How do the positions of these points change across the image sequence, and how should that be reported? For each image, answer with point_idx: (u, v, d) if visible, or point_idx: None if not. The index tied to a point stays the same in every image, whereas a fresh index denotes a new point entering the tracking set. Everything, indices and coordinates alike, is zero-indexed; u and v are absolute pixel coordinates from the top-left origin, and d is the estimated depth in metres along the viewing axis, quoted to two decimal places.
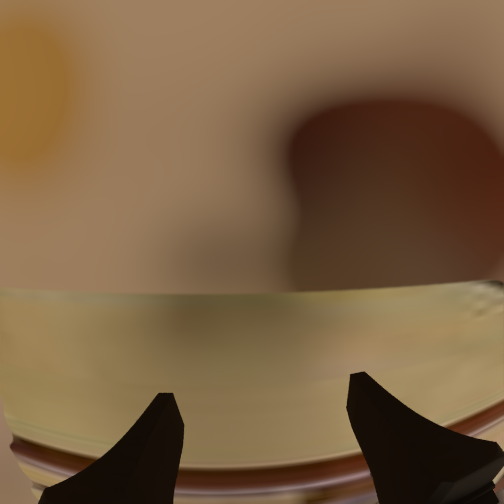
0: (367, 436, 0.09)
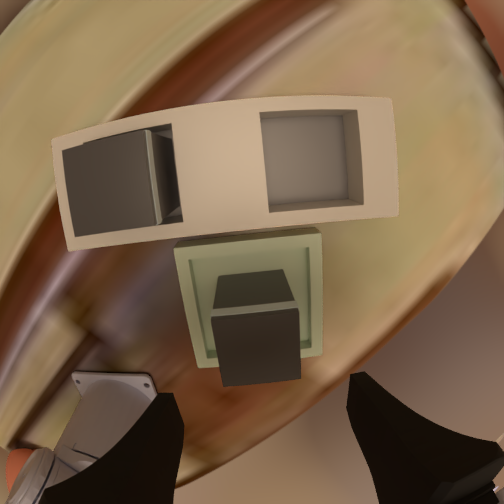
0: (367, 436, 0.09)
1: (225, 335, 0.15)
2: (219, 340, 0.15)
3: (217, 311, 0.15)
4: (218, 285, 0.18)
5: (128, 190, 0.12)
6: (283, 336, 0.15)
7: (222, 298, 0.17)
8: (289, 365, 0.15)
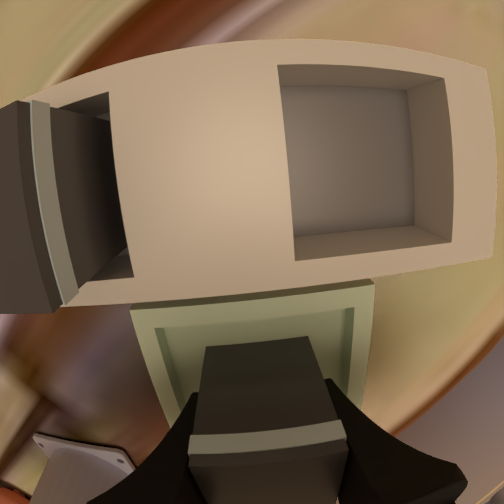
0: None
1: (216, 481, 0.07)
2: (206, 485, 0.07)
3: (200, 440, 0.07)
4: (204, 371, 0.11)
5: None
6: (316, 478, 0.07)
7: (211, 406, 0.09)
8: (319, 501, 0.07)
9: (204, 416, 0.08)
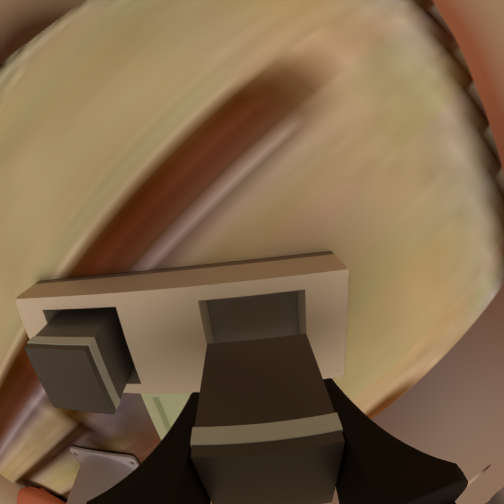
0: None
1: (217, 471, 0.07)
2: (207, 476, 0.07)
3: (202, 432, 0.08)
4: (206, 366, 0.11)
5: (86, 389, 0.13)
6: (313, 469, 0.07)
7: (212, 399, 0.09)
8: (317, 493, 0.08)
9: (206, 409, 0.09)
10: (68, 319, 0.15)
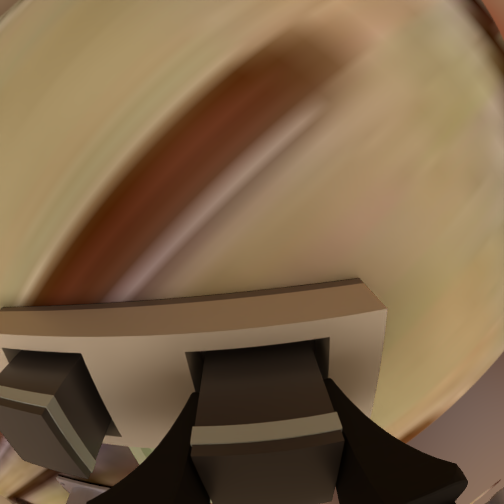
0: None
1: (217, 471, 0.07)
2: (207, 475, 0.07)
3: (202, 431, 0.08)
4: (206, 366, 0.11)
5: (53, 453, 0.08)
6: (313, 468, 0.07)
7: (212, 399, 0.09)
8: (317, 493, 0.08)
9: (206, 409, 0.09)
10: (29, 362, 0.11)
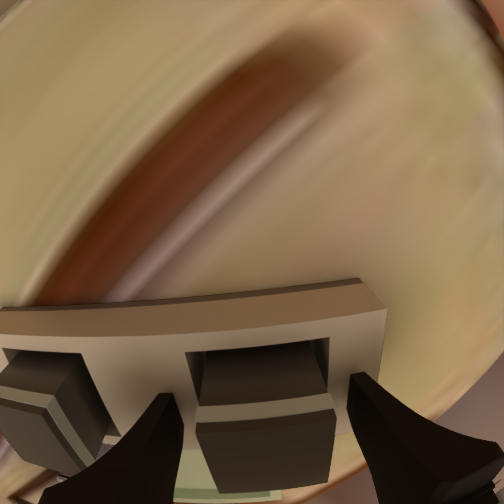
0: (366, 436, 0.09)
1: (219, 448, 0.08)
2: (210, 453, 0.08)
3: (206, 411, 0.09)
4: (209, 352, 0.12)
5: (53, 452, 0.08)
6: (309, 446, 0.08)
7: (215, 382, 0.10)
8: (313, 473, 0.09)
9: (209, 390, 0.10)
10: (29, 362, 0.11)
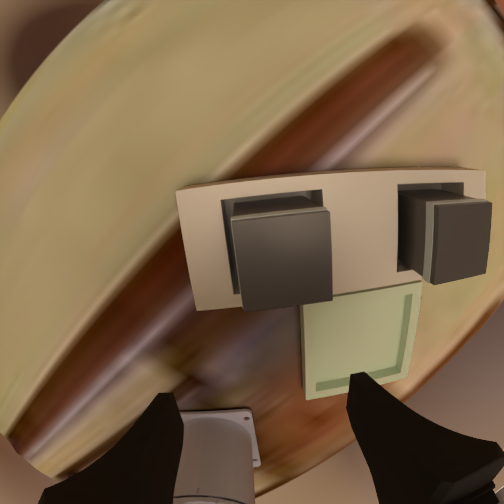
0: (367, 436, 0.09)
1: (447, 221, 0.13)
2: (442, 228, 0.13)
3: (432, 202, 0.14)
4: (400, 194, 0.17)
5: (311, 269, 0.14)
6: (482, 226, 0.13)
7: (421, 198, 0.15)
8: (481, 257, 0.14)
9: (423, 199, 0.15)
10: (260, 207, 0.16)
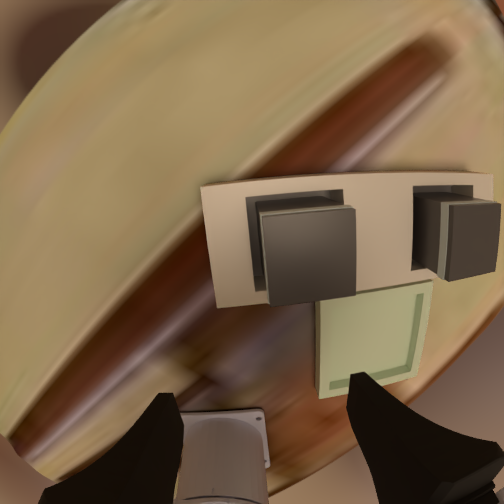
0: (367, 436, 0.09)
1: (460, 221, 0.14)
2: (456, 227, 0.14)
3: (446, 203, 0.14)
4: (414, 195, 0.17)
5: (337, 264, 0.14)
6: (492, 225, 0.14)
7: (435, 199, 0.16)
8: (491, 256, 0.14)
9: (437, 200, 0.15)
10: (284, 204, 0.16)
